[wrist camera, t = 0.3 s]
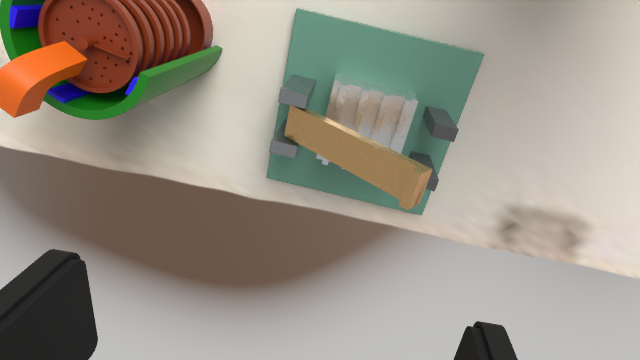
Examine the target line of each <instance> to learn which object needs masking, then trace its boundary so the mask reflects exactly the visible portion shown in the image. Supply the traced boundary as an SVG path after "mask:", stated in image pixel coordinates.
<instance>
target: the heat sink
mask: <svg viewBox="0 0 640 360" xmlns="http://www.w3.org/2000/svg"><path fill="white" fill-rule="evenodd" d="M315 84H316V80H315V79H311V78H307V77H303V76H299V75H295V74H293V75H292V76H291V77H290V78H289V79H288V81H287V82H286V83H285V84H284V85H283V87H282V88H281V89H280V95H279V101H278V102H280V103H284V104H288V105H292V106H296V107H300V108H304V109H305V108H306V106H307V104H308V102H309V100H310V98H311V96H312V94H313V92H314V89H315ZM417 104H418V99H417V97H416V94H415V93H412V92H407V91H403V90H399V89H395V88H391V87H387V86H383V85H379V84H375V83H371V82H366V81H362V80H358V79H354V78H350V77H346V76H342V75H338V74H336V76H335V79H334V83H333V87H332V92H331V96H330V100H329V104H328V109H327V113H326V118H328V119H330V120H332V121H334V122H336V123H338V124H340V125H342V126H344V127H347V128H349V129H351V130H353V131H355V132H357V133H359V134H361V135H363V136H365V137H367V138H369V139H371V140H373V141H375V142H378V143H380V144H382V145H384V146H386V147H388V148H390V149H392V150H394V151H396V152H398V153H400V154H401V152H402V149H403V146H404V143H405V140H406V137H407V134H408V131H409V128H410V125H411V122H412V119H413V116H414V113H415V110H416V107H417ZM286 123H287V120H286V119H285V120H284V121H283V123H282V124H281V126H280V128H279V129H278V131H277V132H276V134H275V136H274V137H273V139H272V141H271V147H270V152H271V153H275V154H279V155H283V156H287V157H291V158H295V157H296V155H297V152H298V150H299V147H300V144H298V143H297V142H295V141H293V140H291V139H289V138H288V137H286V136H284V134H285V129H286ZM316 158H317V159H321V160H323V161H322V164H324V165H328V162H331V161H329V160H327V159H326V158H324V157H322V156H320V155H318V154H317V156H316ZM341 169H344V168H341Z"/></svg>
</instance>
